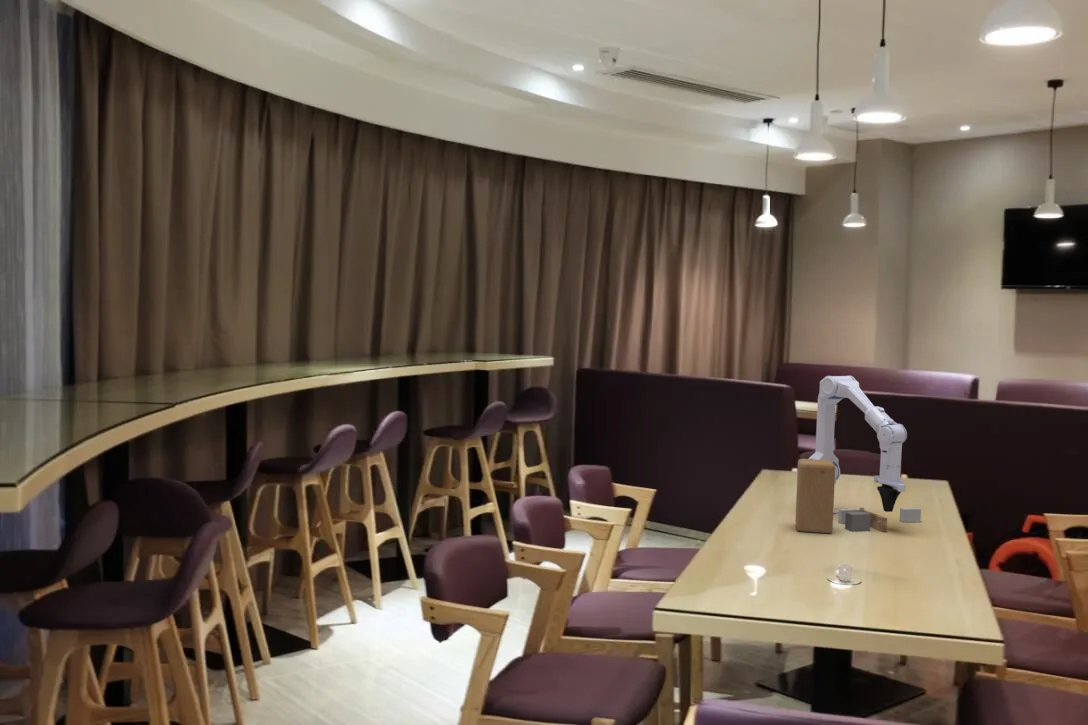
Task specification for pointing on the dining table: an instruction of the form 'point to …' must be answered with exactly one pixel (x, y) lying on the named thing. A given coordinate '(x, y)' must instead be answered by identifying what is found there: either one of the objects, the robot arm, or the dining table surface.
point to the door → (877, 521)
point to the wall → (905, 514)
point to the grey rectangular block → (857, 521)
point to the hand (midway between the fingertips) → (888, 511)
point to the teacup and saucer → (844, 572)
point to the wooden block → (815, 496)
